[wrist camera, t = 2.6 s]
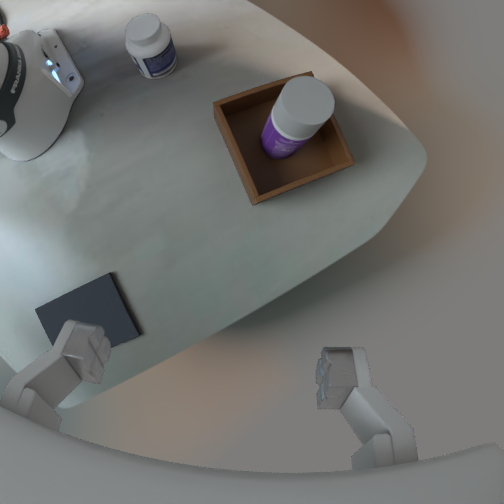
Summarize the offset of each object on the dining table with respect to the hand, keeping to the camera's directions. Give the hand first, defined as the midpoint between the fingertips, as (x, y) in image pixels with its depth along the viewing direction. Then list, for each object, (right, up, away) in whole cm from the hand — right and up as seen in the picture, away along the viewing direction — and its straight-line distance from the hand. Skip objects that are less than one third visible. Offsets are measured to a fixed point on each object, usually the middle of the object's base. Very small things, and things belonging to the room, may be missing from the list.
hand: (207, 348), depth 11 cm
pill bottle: (-11, +29, +25) cm, 40 cm away
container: (+5, +17, +27) cm, 32 cm away
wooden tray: (+5, +17, +27) cm, 33 cm away
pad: (-21, -6, +28) cm, 35 cm away
